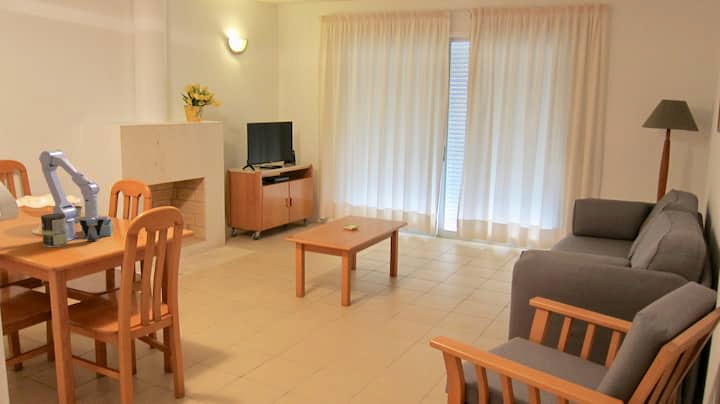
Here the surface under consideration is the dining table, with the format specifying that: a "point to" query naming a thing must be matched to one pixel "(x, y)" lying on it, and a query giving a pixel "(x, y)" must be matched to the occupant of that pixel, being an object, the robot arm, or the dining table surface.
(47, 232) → the coffee can
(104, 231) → the tote
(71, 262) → the dining table surface
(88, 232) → the grey cylinder
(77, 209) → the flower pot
